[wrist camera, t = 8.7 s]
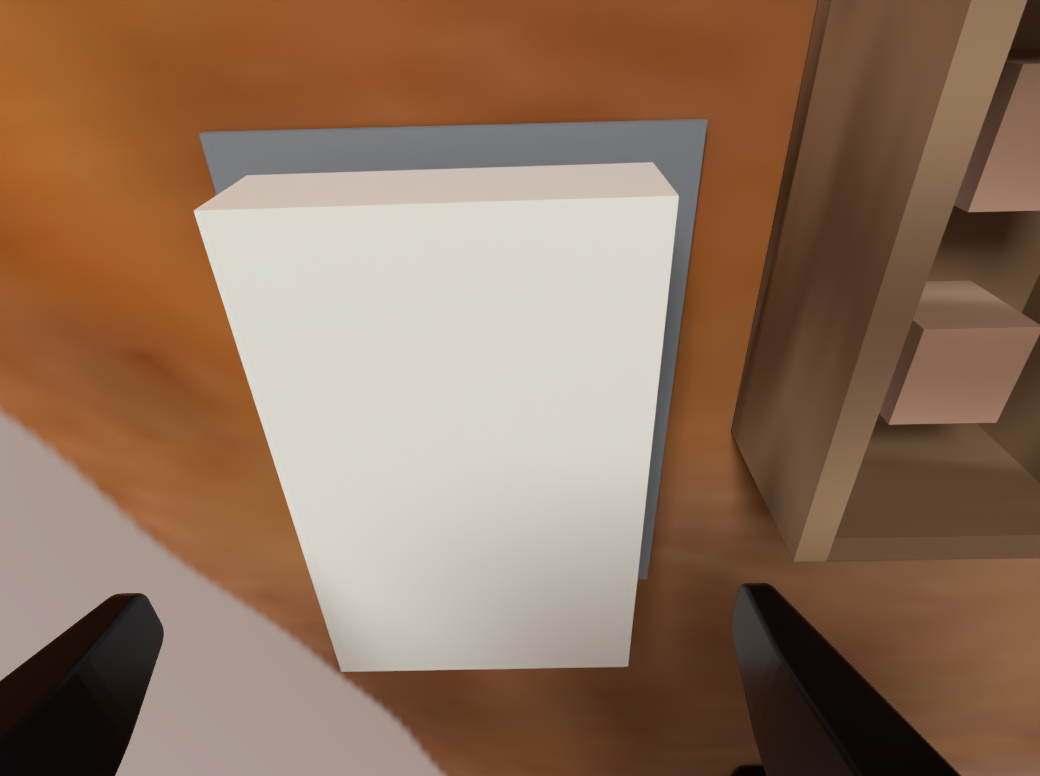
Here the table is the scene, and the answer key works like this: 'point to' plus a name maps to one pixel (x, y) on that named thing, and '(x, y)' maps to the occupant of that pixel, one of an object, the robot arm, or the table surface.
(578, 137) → the mat
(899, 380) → the box
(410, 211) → the white rectangular block
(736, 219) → the table surface
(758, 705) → the robot arm
